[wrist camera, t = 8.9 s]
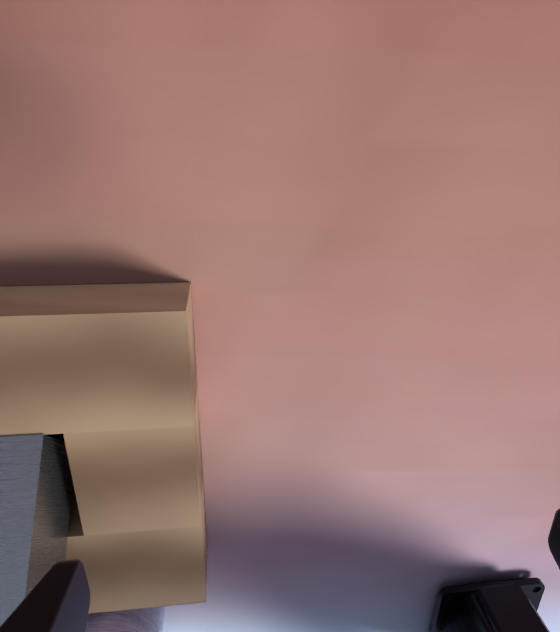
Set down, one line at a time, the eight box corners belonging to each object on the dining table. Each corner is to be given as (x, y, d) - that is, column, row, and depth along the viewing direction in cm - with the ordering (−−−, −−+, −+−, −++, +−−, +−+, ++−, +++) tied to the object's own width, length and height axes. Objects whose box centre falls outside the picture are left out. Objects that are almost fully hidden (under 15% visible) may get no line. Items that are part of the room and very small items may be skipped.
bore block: (207, 547, 25) (205, 602, 22) (-97, 573, 23) (-140, 635, 20) (190, 282, 19) (185, 311, 16) (-220, 291, 17) (-303, 325, 14)
